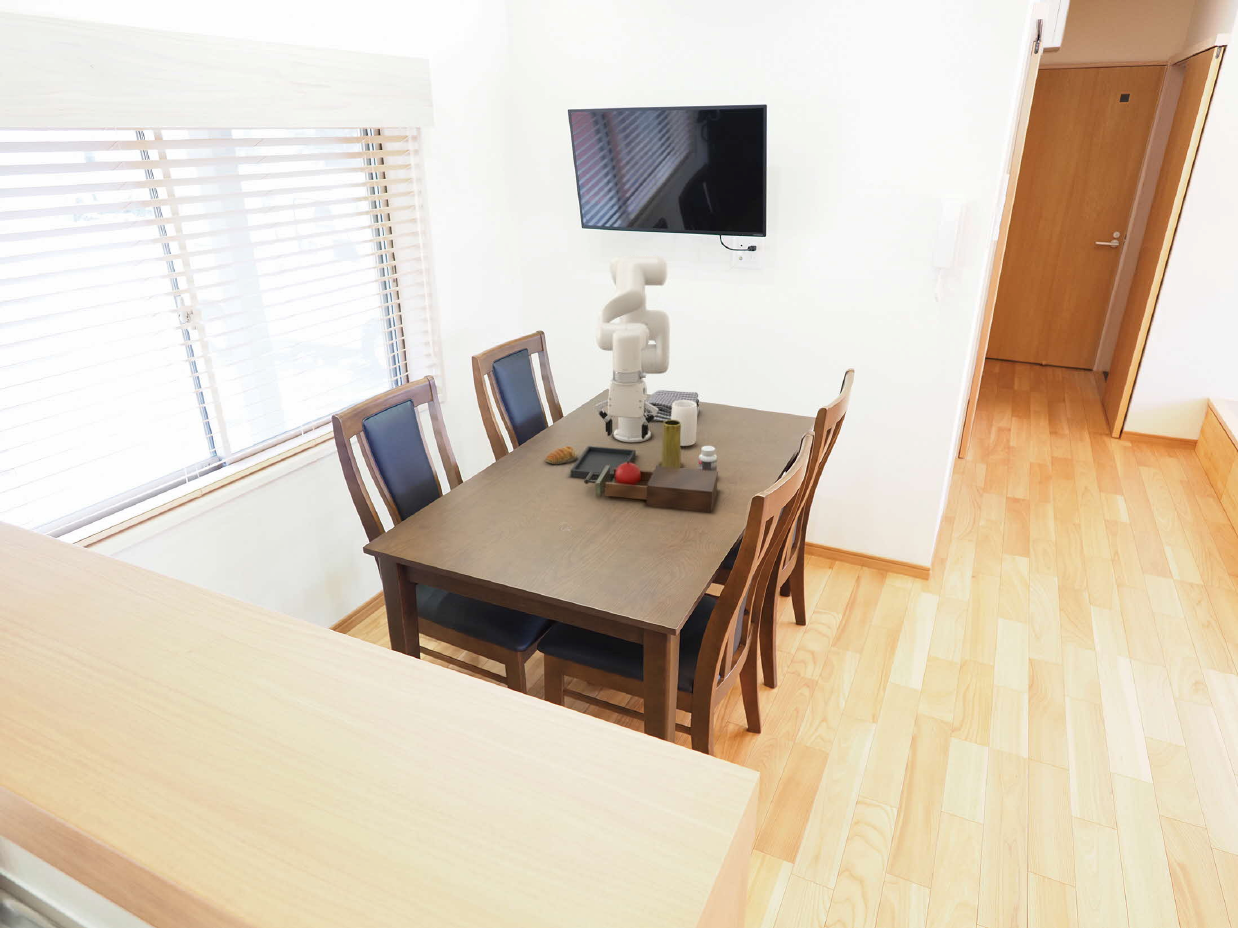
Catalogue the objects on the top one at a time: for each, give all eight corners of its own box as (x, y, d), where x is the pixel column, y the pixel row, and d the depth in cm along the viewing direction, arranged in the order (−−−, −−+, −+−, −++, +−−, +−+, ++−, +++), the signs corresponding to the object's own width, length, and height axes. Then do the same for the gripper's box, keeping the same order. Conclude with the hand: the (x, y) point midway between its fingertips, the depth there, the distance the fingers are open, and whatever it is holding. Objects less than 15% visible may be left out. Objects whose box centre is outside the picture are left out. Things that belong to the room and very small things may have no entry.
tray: (588, 452, 252) (587, 445, 251) (635, 456, 249) (635, 449, 248) (570, 477, 235) (570, 470, 234) (621, 481, 231) (621, 474, 230)
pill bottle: (694, 479, 233) (695, 448, 229) (704, 473, 237) (705, 443, 233) (709, 483, 230) (710, 453, 226) (719, 478, 233) (721, 447, 230)
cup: (701, 444, 258) (703, 403, 252) (685, 451, 252) (686, 410, 247) (681, 438, 263) (682, 397, 258) (665, 445, 258) (665, 404, 252)
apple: (618, 480, 227) (618, 454, 224) (642, 482, 226) (643, 457, 223) (612, 490, 221) (612, 464, 218) (637, 493, 219) (637, 466, 216)
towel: (652, 407, 292) (652, 387, 289) (701, 411, 287) (702, 391, 284) (642, 421, 278) (642, 400, 275) (693, 426, 274) (694, 404, 271)
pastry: (553, 467, 241) (553, 456, 240) (541, 461, 246) (541, 449, 244) (578, 460, 246) (578, 448, 245) (566, 453, 251) (565, 442, 250)
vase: (675, 471, 238) (676, 427, 232) (657, 467, 241) (658, 423, 235) (684, 464, 243) (685, 421, 237) (667, 460, 246) (668, 417, 240)
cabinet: (646, 506, 217) (646, 485, 214) (655, 485, 229) (656, 465, 226) (711, 512, 213) (712, 491, 210) (716, 491, 225) (717, 471, 223)
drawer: (581, 495, 221) (580, 481, 219) (592, 477, 232) (592, 463, 230) (653, 502, 216) (654, 488, 215) (662, 484, 228) (662, 470, 226)
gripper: (661, 374, 212) (660, 433, 219) (599, 370, 216) (599, 428, 222) (655, 382, 205) (655, 443, 212) (592, 378, 209) (593, 438, 216)
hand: (626, 435), depth 217 cm, fingers open, 9 cm apart
